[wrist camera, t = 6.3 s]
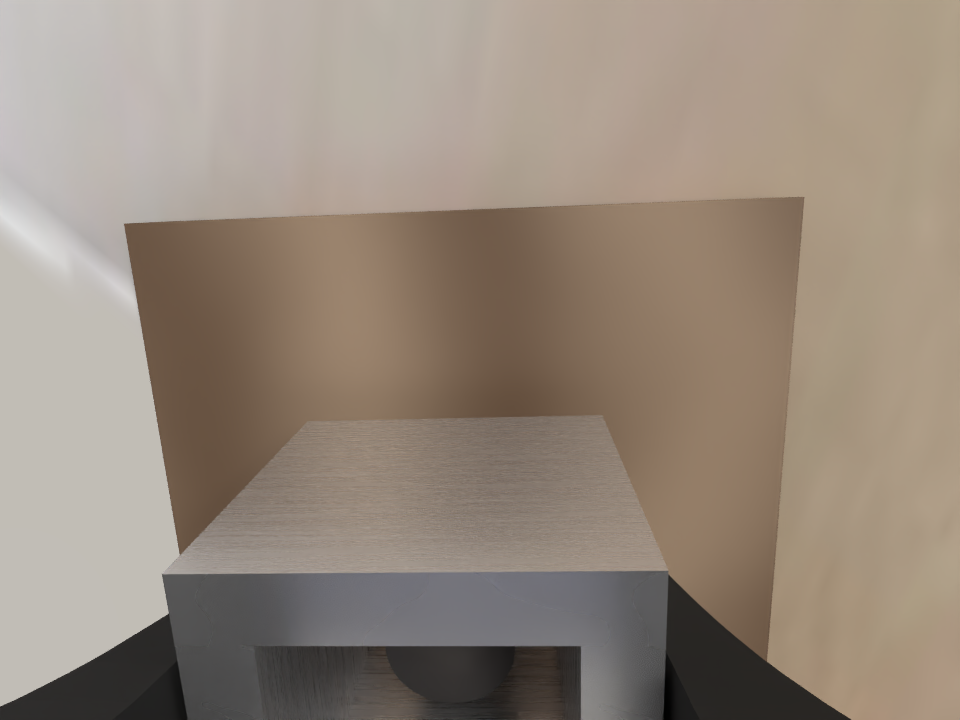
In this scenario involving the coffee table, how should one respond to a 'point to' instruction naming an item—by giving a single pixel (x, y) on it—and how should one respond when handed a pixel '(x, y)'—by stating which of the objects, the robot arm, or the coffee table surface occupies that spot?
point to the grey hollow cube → (426, 575)
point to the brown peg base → (494, 362)
